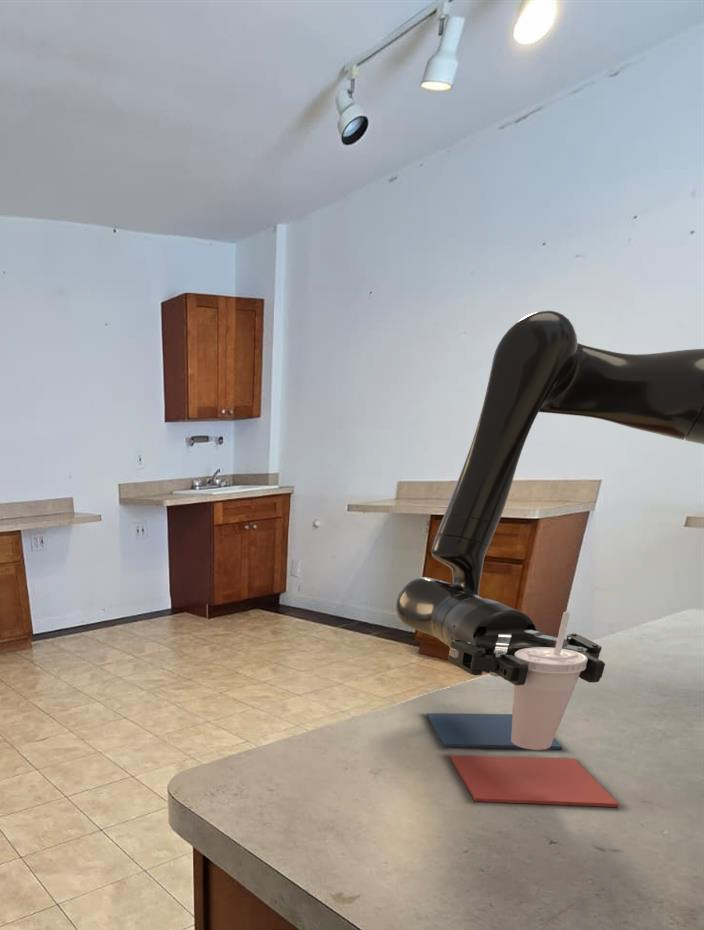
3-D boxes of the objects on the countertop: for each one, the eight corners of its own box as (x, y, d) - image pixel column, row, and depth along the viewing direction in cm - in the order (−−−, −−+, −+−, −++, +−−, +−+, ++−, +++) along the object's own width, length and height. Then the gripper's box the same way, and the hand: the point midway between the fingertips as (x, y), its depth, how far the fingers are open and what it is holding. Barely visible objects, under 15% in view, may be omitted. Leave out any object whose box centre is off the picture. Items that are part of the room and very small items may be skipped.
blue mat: (530, 717, 86) (531, 714, 86) (561, 749, 76) (562, 746, 76) (426, 715, 89) (427, 713, 88) (444, 746, 79) (444, 743, 79)
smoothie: (572, 757, 65) (608, 620, 59) (501, 752, 67) (528, 619, 61) (558, 733, 70) (590, 605, 64) (493, 729, 72) (517, 605, 66)
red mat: (573, 761, 73) (574, 758, 73) (617, 807, 63) (618, 803, 63) (450, 758, 76) (451, 755, 76) (474, 801, 66) (475, 798, 66)
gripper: (429, 605, 77) (491, 640, 62) (554, 599, 76) (649, 633, 61) (420, 665, 80) (478, 712, 65) (540, 660, 79) (627, 707, 64)
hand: (560, 674), depth 63 cm, fingers closed on smoothie, 6 cm apart
